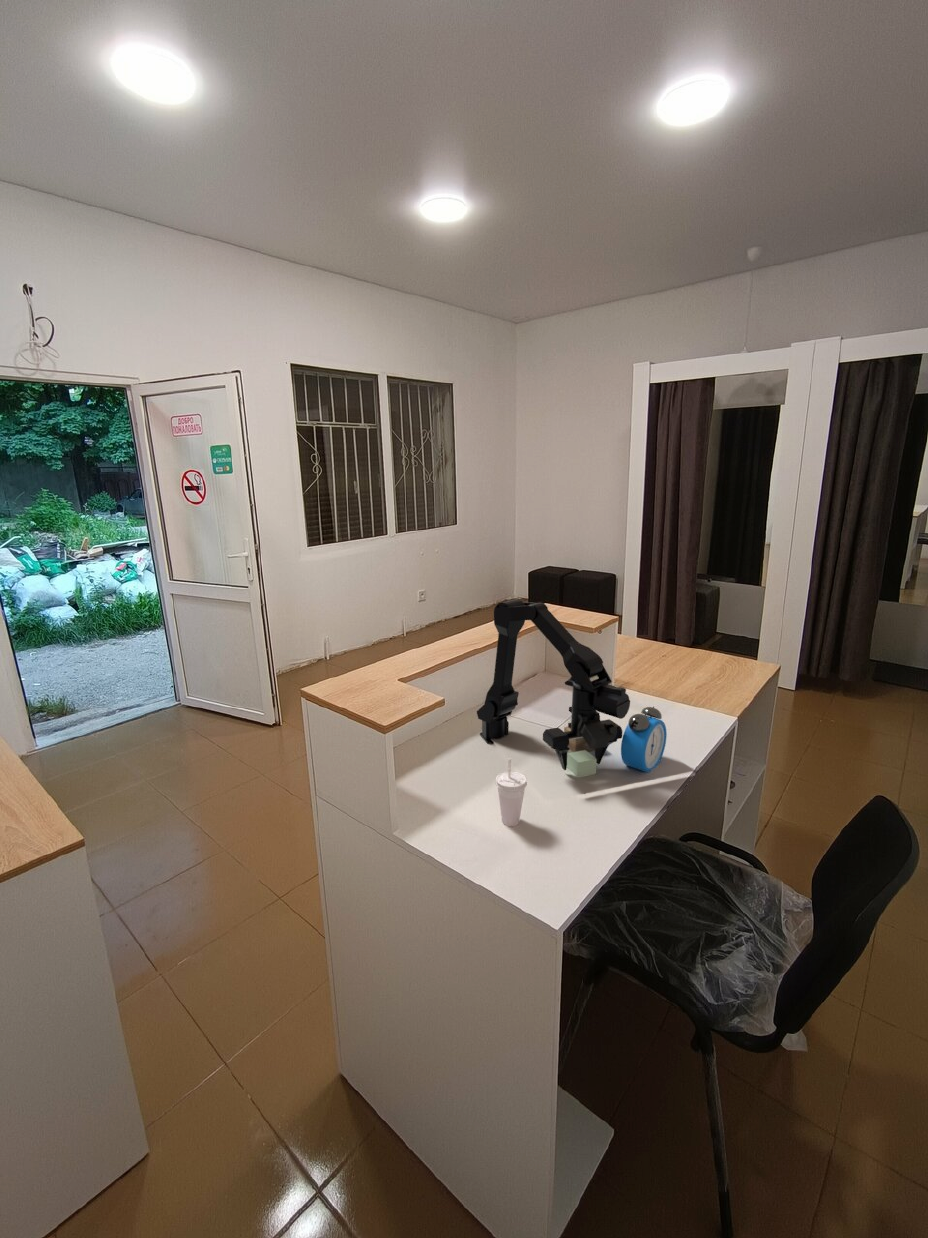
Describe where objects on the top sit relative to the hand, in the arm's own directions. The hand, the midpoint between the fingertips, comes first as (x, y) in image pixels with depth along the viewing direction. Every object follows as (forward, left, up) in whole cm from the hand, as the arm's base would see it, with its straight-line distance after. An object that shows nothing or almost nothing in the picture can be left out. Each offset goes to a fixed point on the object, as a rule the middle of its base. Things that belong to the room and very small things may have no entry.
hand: (581, 766), depth 136 cm
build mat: (+6, +11, -2) cm, 13 cm away
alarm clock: (+16, -2, -2) cm, 16 cm away
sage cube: (0, 0, -2) cm, 2 cm away
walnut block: (+6, +11, -1) cm, 12 cm away
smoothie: (-24, -12, -2) cm, 27 cm away
